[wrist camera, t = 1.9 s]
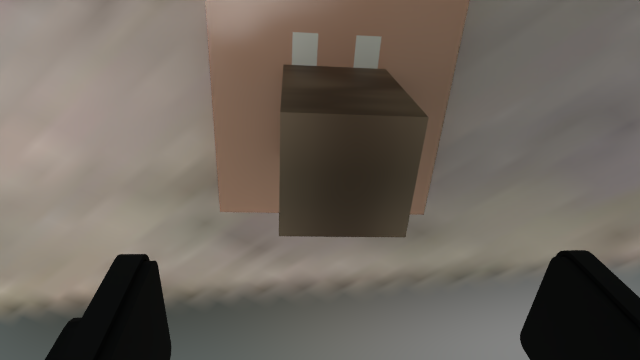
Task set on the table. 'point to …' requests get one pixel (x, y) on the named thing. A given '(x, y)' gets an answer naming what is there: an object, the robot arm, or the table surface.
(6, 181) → the table surface
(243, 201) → the tile
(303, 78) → the walnut block
